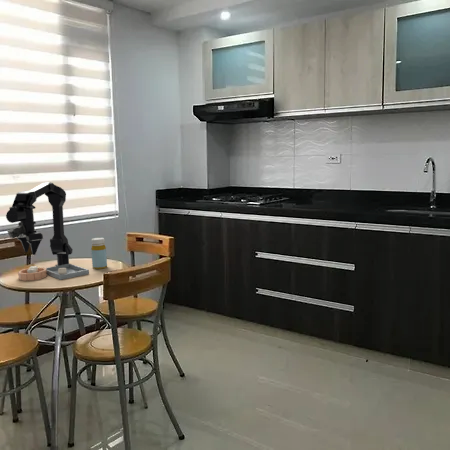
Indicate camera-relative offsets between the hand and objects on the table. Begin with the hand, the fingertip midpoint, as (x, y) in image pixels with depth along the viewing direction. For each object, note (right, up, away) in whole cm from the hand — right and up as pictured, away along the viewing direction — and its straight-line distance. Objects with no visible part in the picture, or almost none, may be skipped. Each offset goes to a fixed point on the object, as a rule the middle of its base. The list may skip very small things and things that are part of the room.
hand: (30, 253), depth 218 cm
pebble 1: (0, -11, +1) cm, 12 cm away
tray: (+13, -10, +9) cm, 19 cm away
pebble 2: (-1, -11, +6) cm, 12 cm away
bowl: (0, -12, +4) cm, 12 cm away
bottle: (+27, -9, +19) cm, 34 cm away
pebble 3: (+14, -11, +2) cm, 18 cm away
